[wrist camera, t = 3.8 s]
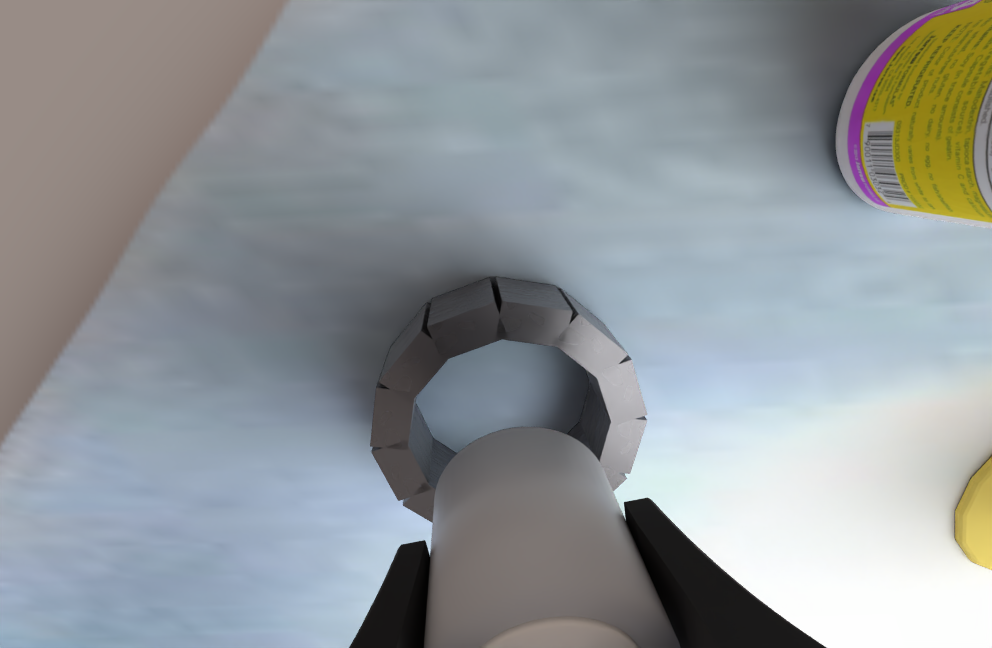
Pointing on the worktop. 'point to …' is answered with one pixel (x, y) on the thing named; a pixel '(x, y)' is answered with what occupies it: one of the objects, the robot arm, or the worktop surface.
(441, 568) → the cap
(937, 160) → the supplement bottle
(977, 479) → the candle
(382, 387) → the segmented grey ring
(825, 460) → the worktop surface
